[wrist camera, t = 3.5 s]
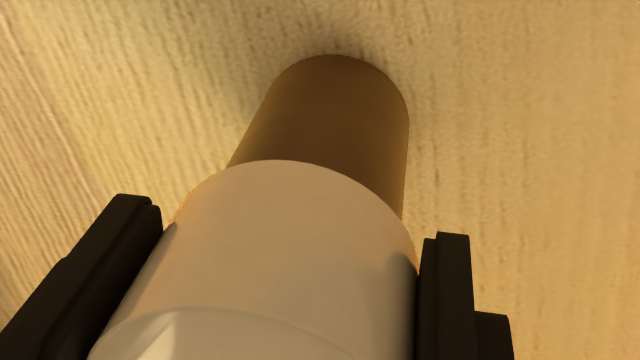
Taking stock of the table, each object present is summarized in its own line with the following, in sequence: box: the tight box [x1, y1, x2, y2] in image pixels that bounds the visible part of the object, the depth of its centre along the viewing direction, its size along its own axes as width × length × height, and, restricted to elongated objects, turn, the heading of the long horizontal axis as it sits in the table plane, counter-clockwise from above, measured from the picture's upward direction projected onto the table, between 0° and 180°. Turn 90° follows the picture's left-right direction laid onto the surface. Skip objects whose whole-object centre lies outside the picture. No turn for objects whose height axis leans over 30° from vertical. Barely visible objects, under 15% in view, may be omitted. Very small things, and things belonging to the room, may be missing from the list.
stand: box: [226, 55, 409, 222], centre depth 14 cm, size 4×4×6 cm
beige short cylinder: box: [86, 160, 419, 360], centre depth 10 cm, size 5×5×4 cm
